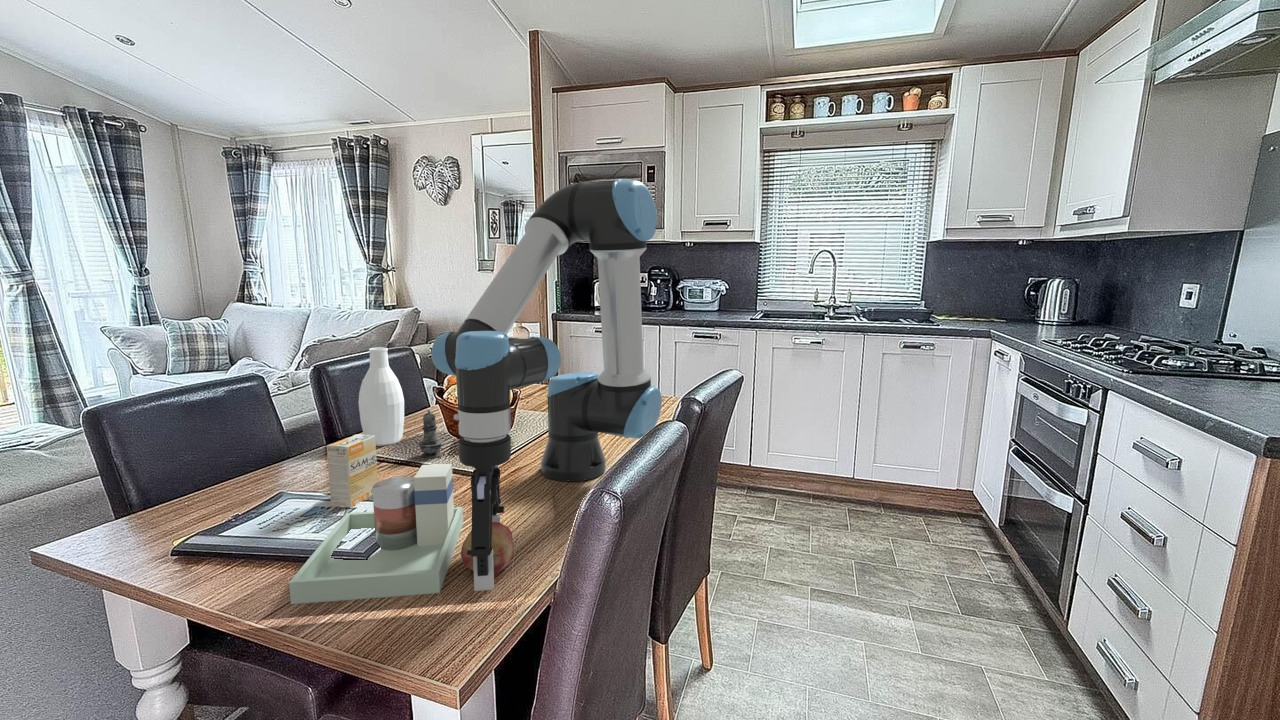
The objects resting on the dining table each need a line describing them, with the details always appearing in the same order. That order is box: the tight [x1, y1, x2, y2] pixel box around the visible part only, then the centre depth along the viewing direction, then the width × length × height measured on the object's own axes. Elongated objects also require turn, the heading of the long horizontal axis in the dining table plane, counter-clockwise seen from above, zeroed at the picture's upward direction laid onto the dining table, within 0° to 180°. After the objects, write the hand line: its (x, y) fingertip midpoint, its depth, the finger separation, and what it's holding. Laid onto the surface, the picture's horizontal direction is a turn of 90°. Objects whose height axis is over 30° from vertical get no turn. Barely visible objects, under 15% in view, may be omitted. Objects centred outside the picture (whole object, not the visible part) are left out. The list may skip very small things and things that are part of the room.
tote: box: [288, 506, 464, 605], centre depth 88 cm, size 20×22×4 cm
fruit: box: [460, 522, 515, 575], centre depth 85 cm, size 8×8×8 cm
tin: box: [372, 476, 417, 550], centre depth 93 cm, size 7×7×10 cm
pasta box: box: [413, 463, 455, 546], centre depth 94 cm, size 5×6×12 cm
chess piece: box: [417, 409, 444, 460], centre depth 137 cm, size 6×6×12 cm
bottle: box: [358, 346, 405, 447], centre depth 147 cm, size 11×11×25 cm
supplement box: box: [326, 433, 379, 508], centre depth 109 cm, size 8×5×13 cm, turn 168°
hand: (488, 571), depth 86 cm, fingers open, 11 cm apart
